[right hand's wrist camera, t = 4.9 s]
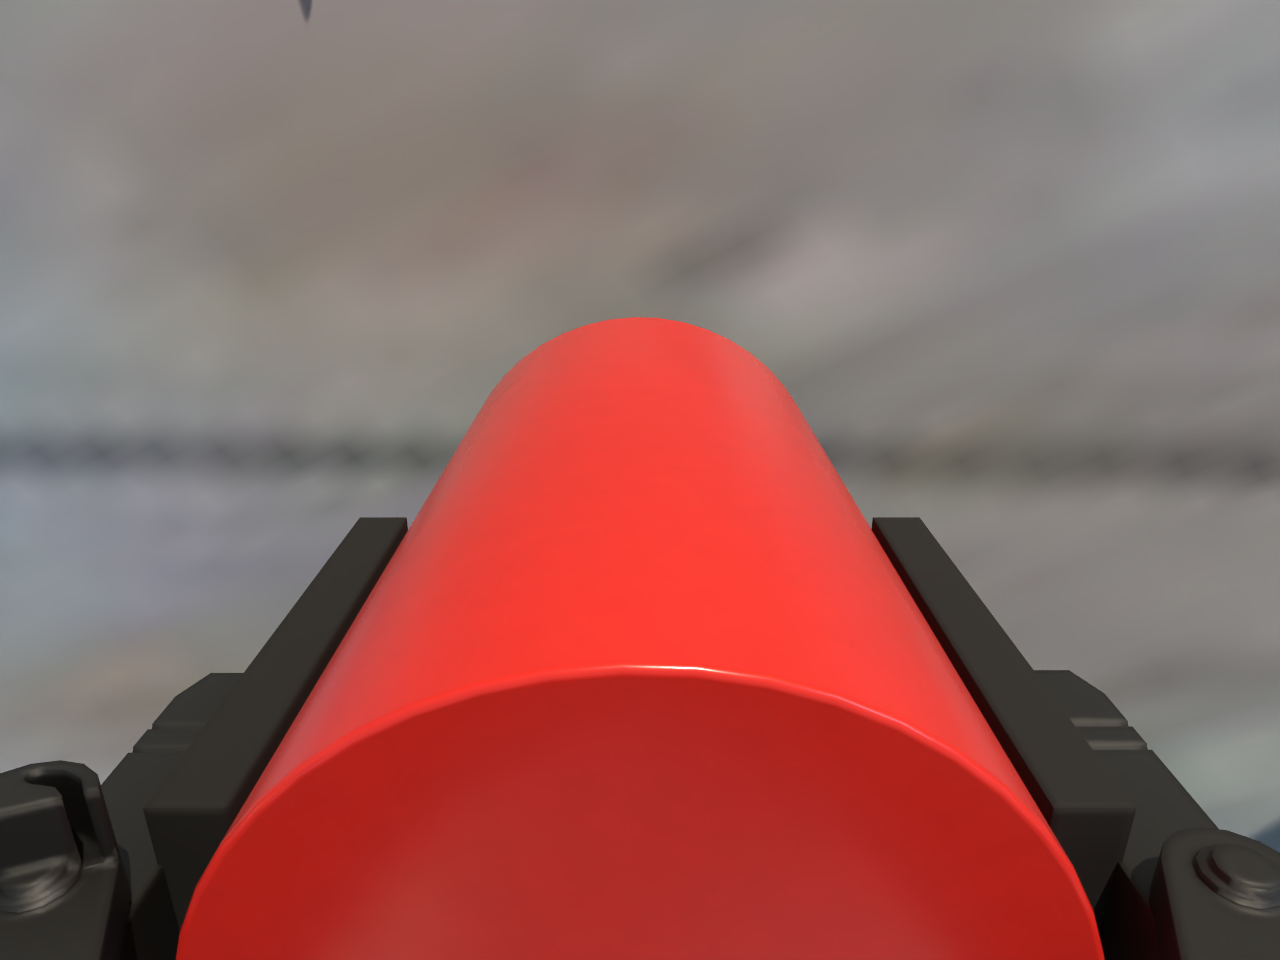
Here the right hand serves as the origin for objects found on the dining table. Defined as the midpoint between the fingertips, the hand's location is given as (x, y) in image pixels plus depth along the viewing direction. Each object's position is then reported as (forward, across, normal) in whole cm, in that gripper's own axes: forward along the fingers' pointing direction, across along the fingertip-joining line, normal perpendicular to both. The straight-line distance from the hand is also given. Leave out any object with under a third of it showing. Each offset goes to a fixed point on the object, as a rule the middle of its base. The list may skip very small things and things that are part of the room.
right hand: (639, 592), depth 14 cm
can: (+4, 0, 0) cm, 4 cm away
